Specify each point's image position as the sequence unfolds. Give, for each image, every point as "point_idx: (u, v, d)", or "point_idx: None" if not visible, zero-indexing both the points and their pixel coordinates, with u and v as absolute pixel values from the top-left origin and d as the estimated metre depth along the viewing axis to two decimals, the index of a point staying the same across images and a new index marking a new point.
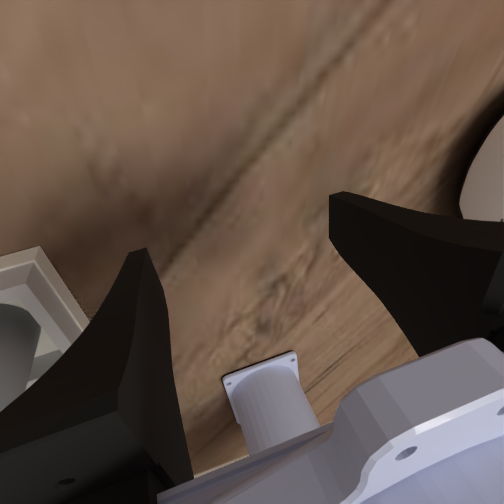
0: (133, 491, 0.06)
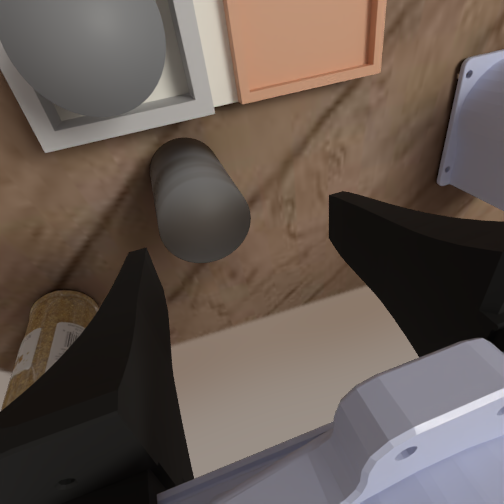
0: (133, 491, 0.06)
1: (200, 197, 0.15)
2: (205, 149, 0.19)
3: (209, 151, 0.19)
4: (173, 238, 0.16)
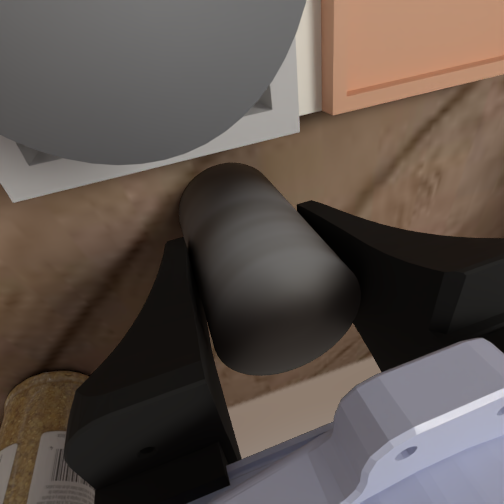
0: (207, 461, 0.06)
1: (289, 284, 0.08)
2: (266, 182, 0.13)
3: (271, 184, 0.13)
4: (235, 347, 0.09)
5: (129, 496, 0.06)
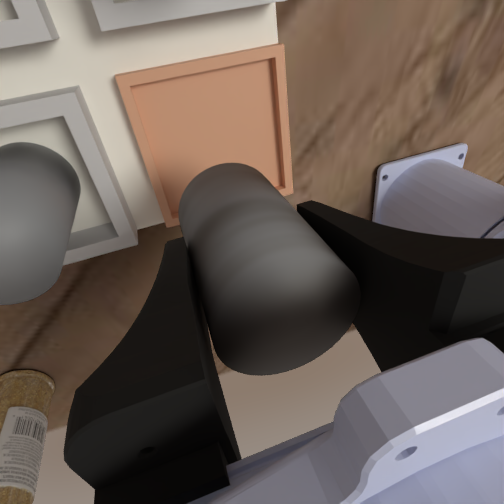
0: (207, 461, 0.06)
1: (288, 284, 0.08)
2: (266, 182, 0.13)
3: (271, 184, 0.13)
4: (234, 347, 0.09)
5: (129, 496, 0.06)
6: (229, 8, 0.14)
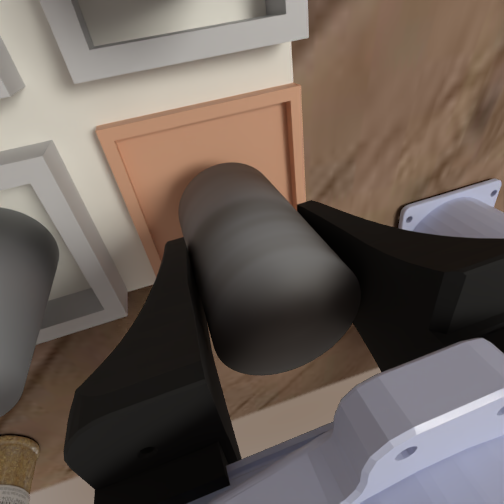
0: (207, 461, 0.06)
1: (289, 284, 0.08)
2: (266, 182, 0.13)
3: (271, 184, 0.13)
4: (234, 347, 0.09)
5: (129, 496, 0.06)
6: (236, 50, 0.11)
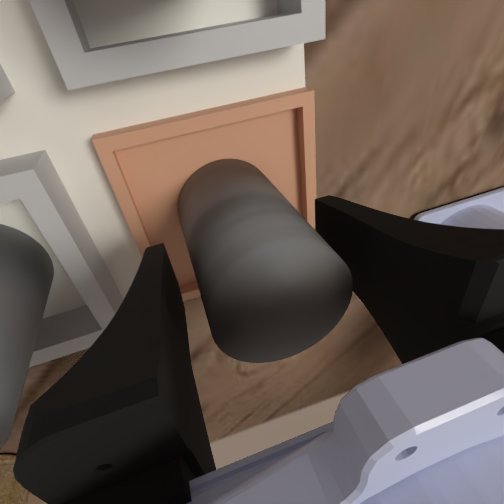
0: (167, 477, 0.06)
1: (283, 273, 0.09)
2: (262, 177, 0.13)
3: (267, 180, 0.13)
4: (231, 334, 0.09)
5: None
6: (246, 52, 0.10)
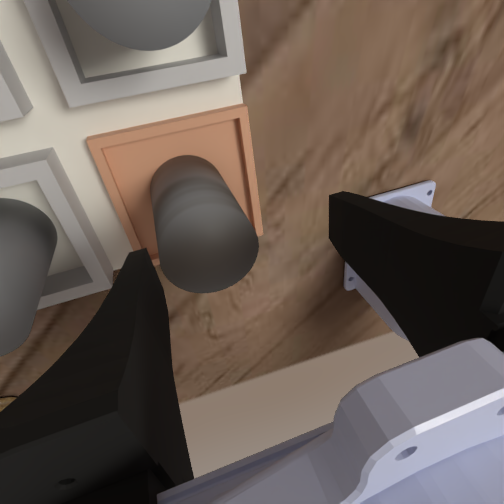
0: (133, 491, 0.06)
1: (205, 225, 0.14)
2: (209, 168, 0.18)
3: (213, 170, 0.18)
4: (174, 268, 0.14)
5: None
6: (190, 82, 0.15)
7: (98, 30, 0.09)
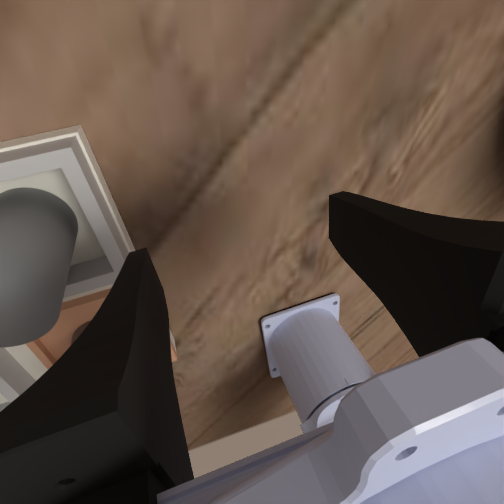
0: (133, 491, 0.06)
1: None
2: None
3: None
4: None
5: None
6: (86, 290, 0.20)
7: None
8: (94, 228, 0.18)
